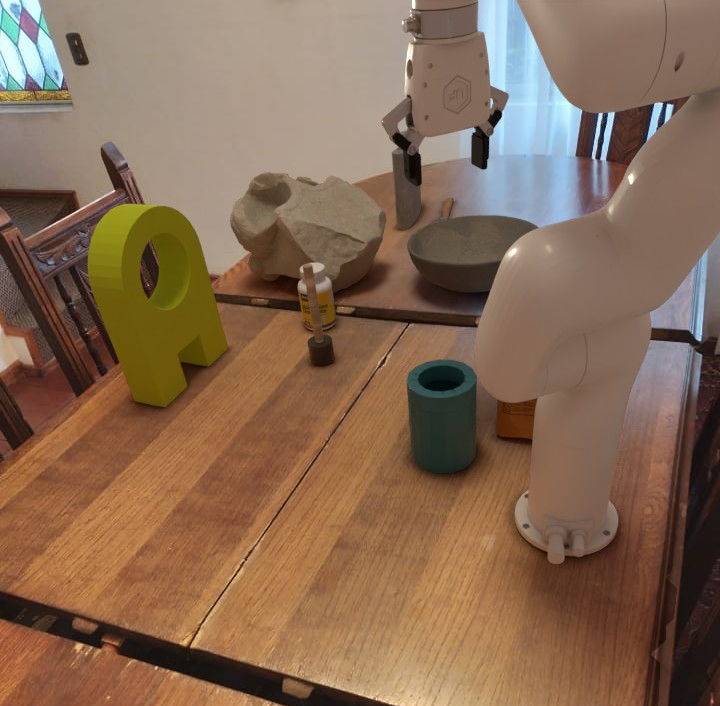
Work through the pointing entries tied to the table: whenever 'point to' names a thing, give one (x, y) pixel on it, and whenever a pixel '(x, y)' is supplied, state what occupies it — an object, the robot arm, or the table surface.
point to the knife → (446, 209)
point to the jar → (442, 415)
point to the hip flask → (404, 193)
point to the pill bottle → (323, 297)
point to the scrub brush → (317, 325)
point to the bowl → (465, 250)
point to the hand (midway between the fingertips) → (447, 174)
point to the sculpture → (308, 227)
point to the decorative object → (154, 299)
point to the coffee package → (515, 419)
